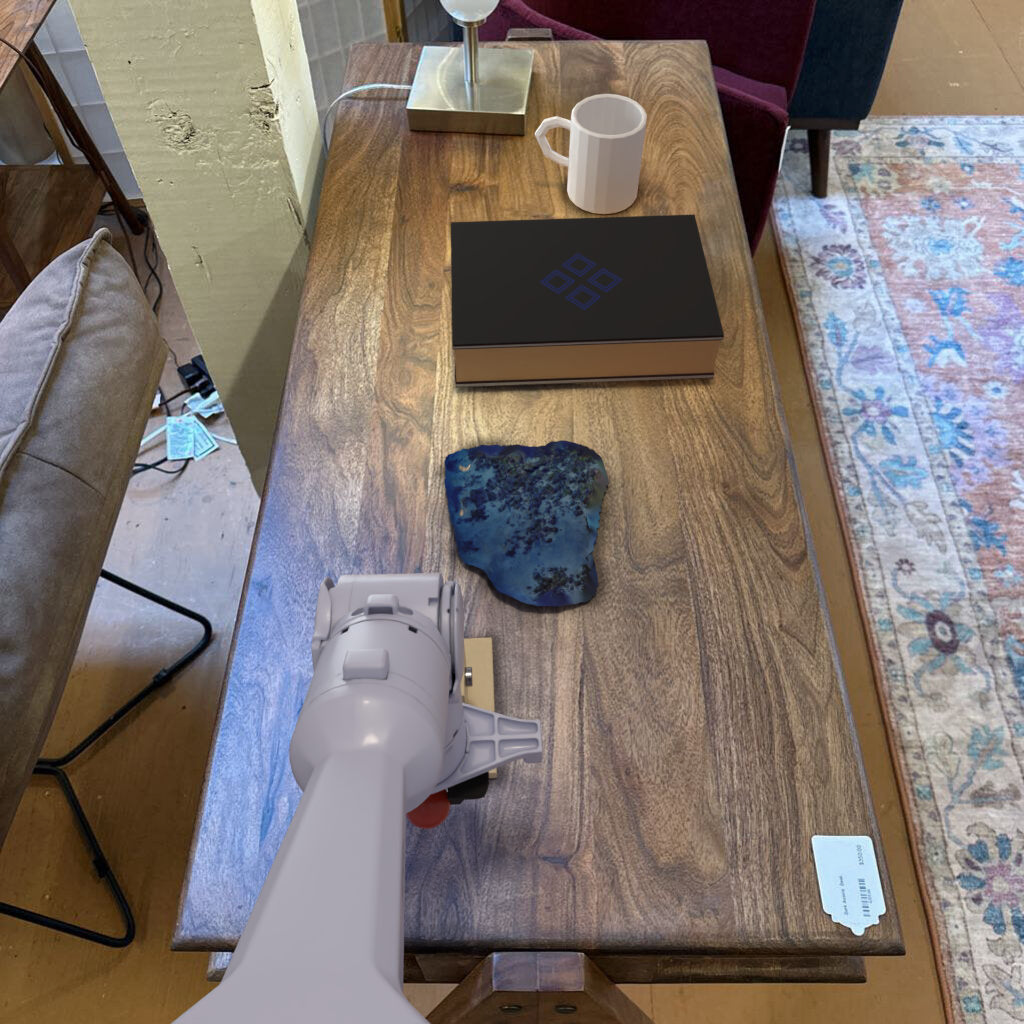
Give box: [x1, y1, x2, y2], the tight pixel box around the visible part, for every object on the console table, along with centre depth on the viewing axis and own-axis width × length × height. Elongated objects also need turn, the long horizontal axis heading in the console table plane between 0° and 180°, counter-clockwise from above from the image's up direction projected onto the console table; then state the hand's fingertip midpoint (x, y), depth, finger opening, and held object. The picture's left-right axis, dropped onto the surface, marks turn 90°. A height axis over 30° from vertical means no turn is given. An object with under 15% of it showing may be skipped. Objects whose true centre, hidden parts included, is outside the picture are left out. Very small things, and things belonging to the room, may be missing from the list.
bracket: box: [460, 637, 498, 779], centre depth 68 cm, size 11×9×8 cm
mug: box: [534, 93, 648, 215], centre depth 103 cm, size 8×12×10 cm
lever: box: [406, 788, 452, 830], centre depth 63 cm, size 13×3×3 cm, turn 3°
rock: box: [443, 439, 610, 608], centre depth 80 cm, size 15×17×2 cm
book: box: [450, 214, 725, 389], centre depth 92 cm, size 17×25×7 cm
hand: (429, 790), depth 62 cm, fingers closed on lever, 3 cm apart
